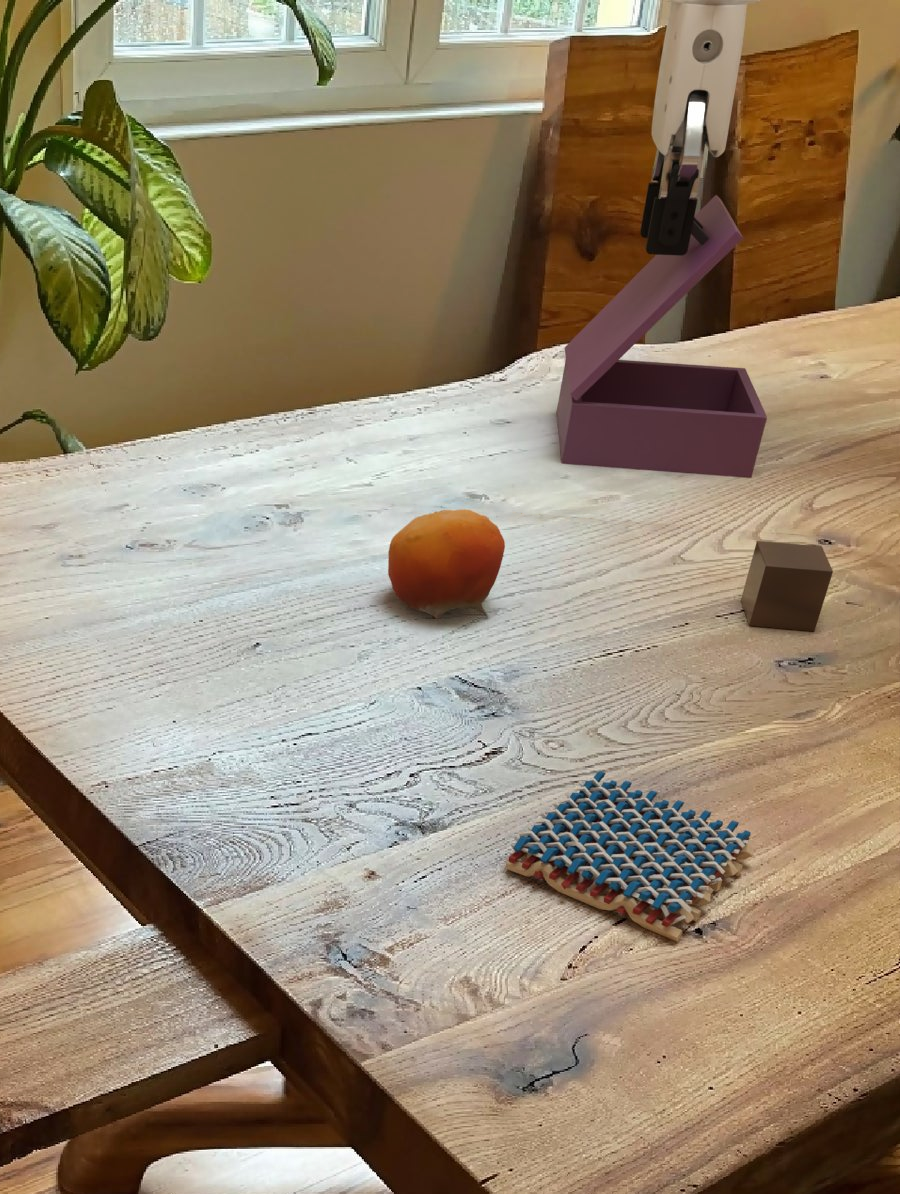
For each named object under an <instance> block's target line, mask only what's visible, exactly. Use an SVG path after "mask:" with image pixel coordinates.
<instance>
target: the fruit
mask: <svg viewBox="0 0 900 1194" xmlns="http://www.w3.org/2000/svg"><path fill="white" fill-rule="evenodd" d="M505 548H506V542H505V539H504V537H503V534H502V533H501V530H500V528H499V527H498V526H497V524H495V523H494V522H493V521H491V519H490V518H489V516H487V515H484V514H479V513H478V512H476V511H473V510H471V509H455V510H451V509H443V510H440V511H434V512H432V513H428V514H422V515H421V516H417V517H415V518H413V519H412V520H411V521H410V522H409V523H407V524H406V525H405V526H403V528H402V529H400V531H398V532H397V533H396V534H394V536H393V537H392V538H391V541H390V543H389V547H388V552H387V554H388V562H387V563H388V564H387V565H388V567H387V572H388V573H387V574H388V578H389V580H390V583H391V587H392V591H393V592H394V594H395V595H396V597H397V598H398V599H399V601H401V602H402V603H403V604H405V605H406V606H407V607H408V608H410V609H411V610H413V611H419V612H422V613H425V614H428V615H431V616H433V617H434V618H435V619H436V621H437V622H438V621H439V619H440V618H442V615H444V614H445V613H448V612H449V611H451V610H455V609H469V610H474V611H478V612H480V613H482V614H483V615H484V616H485V618H487V619H489V616H488V613H486V611H485V609H484V607H483V603H484V601H485V600H486V599H487V598H488V597H489V595H490V592H491V590H492V589H493V587H494V585H495V583H496V581H497V578H498V575H499V572H500V569H501V566H502V562H503V559H504V553H505V550H506V549H505Z"/></svg>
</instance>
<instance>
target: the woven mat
mask: <svg viewBox="0 0 900 1194" xmlns="http://www.w3.org/2000/svg"><path fill="white" fill-rule="evenodd" d="M605 776H606V772H605V771H601V770H599V771H596V773H595V775H594V776H593V777H591V778H588V779H587V780H582V779H581V780H579V781H578V782H577V783H578V784H579V786H580V787H577V788H574V789H572V791H578V792H572V793H570V791H565V793H564V794H565V796H566V798H561V799H559V800H558V802H554V803H553V804H552V806H553V807H554V808H555V809H552V810H551V809H550V810H546V811H543V812H541V813H540V814H539V816H540V817H541V818H539V819H538V818H537V819H534V822H533V823H534V825H531V823H528V824H526V825H525V827H526V828H527V829H528V831H524V832H520V833H519V834H518V835H519V836H518V835H515V836H514V837H513V839H514V840H515V843H511V844H510V847H511V848H512V849H513V851H514V852H513V853H512V854H510V855H509V856H508V860H507V861H506V862H505V865H504V869H506V870H508V871H510V872H513V873H516V874H519V875H521V876H524V877H535V878H536V879H539V880H542V881H543V880H545V881H546V883H547V884H548V885H549V886H550V887H552V889H554V890H555V891H557V892H558V893H560V894H563V895H565V896H568V897H569V898H572V899H575V900H576V901H577V900H578V901H580V902H582V903H585V904H587V905H589V906H592V907H594V908H596V909H598V910H603V911H615V910H616V913H619V914H621V915H623V916H627V915H628V916H629V918H630V919H631V920H632V921H633V922H635V923H636V924H637V925H640V927H642V928H644V929H646V930H648V931H651V932H653V933H655V934H658V935H660V936H663V937H665V938H667V939H670V940H671V941H674V942H677V943H679V941H680V939H681V937H682V936H683V930H682V929H681V928H679V927H676V926H674V924H676V923H679V922H680V923H681V924H689V923H691V922H692V921H693V922H694V923H697V921H698V920H699V919H700V916H701V915H702V910H700V909H698V908H697V907H695V906H698V907H699V906H704V905H707V904H709V903H711V896H712V894H713V893H714V892H718V891H719V890H720V889H721V886H722V883H723V879H722V876H724V878H729V877H733V876H736V877H739V876H740V875H741V873H742V871H743V870H744V869H743V866H744V865H743V864H741V863H740V862H736V861H734V860H742V861H745V860H748V859H750V858H752V857H754V852H755V851H754V849H753V847H751V846H750V844H748V843H749V842H750V837H751V834H752V833H751V831H749V830H748V829H747V830H746V829H745V830H743V832H737V834H736V835H735V833H734V831H735V830H736V829H737V828H738V826H739V824H740V822H739V821H736V820H734V819H733V820H731V821H730V822H729V823H728V824H727V826H726V827H725V828H723V829H722V827H723V825H724V822H723V821H722V820H720V819H717V820H716V821H713V822H711V821H710V822H708V821H707V820H708V819H709V818H710V817H711V814H712V811H710V810H706V809H704V810H703V811H702V813H701V814H700V815H699V816H698V818H697V817H696V818H695V816H696V811H695V810H693V809H689V810H688V811H682V812H681V814H680V813H679V811H680V810H681V809H682V807H683V806H684V804H685V802H684V801H682V800H679V799H677V800H676V801H675V802H674V803H673V805H672V806H671V807H669V804H670V803H669V802H670V801H669V800H667V799H663V800H661V801H655V802H654V803H652V802H653V800H654V799H655V798H656V797H657V795H658V793H659V792H658V791H656V790H651V789H650V791H648V793H647V794H646V796H644V797H643V791H642V790H639V789H637V790H635V791H628V790H629V789H630V788H631V786H632V782H631V781H628V780H624V781H623V782H622V784H621V785H620V786H619V787H618V788H617V786H618V782H617V781H615V780H613V779H612V780H610V781H609V782H608V781H607V782H606V781H602V779H603V778H605ZM601 781H602V784H601V783H600V782H601ZM520 860H521V861H520ZM718 876H719V877H718ZM661 919H662V920H661Z"/></svg>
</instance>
